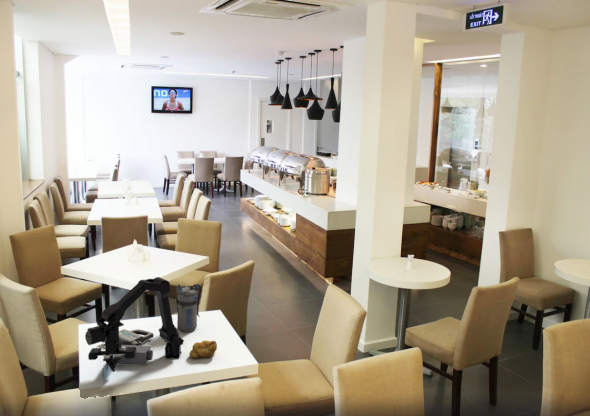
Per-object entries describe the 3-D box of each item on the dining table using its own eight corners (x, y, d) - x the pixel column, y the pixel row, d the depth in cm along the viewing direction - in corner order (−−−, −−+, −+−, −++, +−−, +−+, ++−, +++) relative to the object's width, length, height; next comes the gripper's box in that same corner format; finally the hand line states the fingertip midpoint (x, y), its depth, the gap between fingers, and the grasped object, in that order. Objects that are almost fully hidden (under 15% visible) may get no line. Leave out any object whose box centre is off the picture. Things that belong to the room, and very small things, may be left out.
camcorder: (137, 352, 239) (137, 342, 238) (99, 345, 244) (99, 335, 243) (155, 339, 254) (155, 329, 253) (119, 332, 259) (119, 323, 258)
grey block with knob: (153, 358, 234) (153, 344, 232) (149, 365, 227) (149, 351, 226) (118, 356, 233) (117, 343, 232) (112, 364, 226) (112, 350, 225)
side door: (106, 380, 212) (106, 367, 211) (102, 380, 212) (102, 367, 211) (116, 363, 226) (115, 351, 225) (112, 363, 226) (111, 351, 225)
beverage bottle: (203, 330, 266) (203, 285, 262) (178, 334, 260) (178, 288, 256) (198, 323, 275) (199, 279, 271) (174, 326, 269) (174, 282, 265)
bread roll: (191, 362, 231) (191, 346, 230) (186, 353, 240) (186, 337, 239) (218, 358, 237) (218, 342, 235) (212, 349, 245) (213, 333, 244)
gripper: (138, 329, 221) (139, 362, 224) (94, 330, 219) (96, 363, 221) (133, 340, 210) (134, 374, 213) (87, 341, 208) (88, 376, 211)
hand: (113, 371), depth 215 cm, fingers closed
